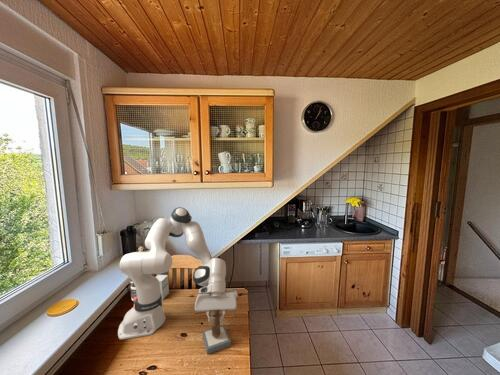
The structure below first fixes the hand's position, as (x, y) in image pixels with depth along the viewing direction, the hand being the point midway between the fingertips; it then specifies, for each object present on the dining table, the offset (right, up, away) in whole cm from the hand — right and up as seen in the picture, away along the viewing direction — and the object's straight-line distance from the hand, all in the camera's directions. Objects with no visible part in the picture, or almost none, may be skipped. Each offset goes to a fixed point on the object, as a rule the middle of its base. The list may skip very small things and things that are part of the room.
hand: (215, 322), depth 102 cm
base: (0, -10, +2) cm, 10 cm away
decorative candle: (-54, -7, +36) cm, 66 cm away
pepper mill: (0, -6, +2) cm, 7 cm away
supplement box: (-40, -6, +37) cm, 55 cm away
